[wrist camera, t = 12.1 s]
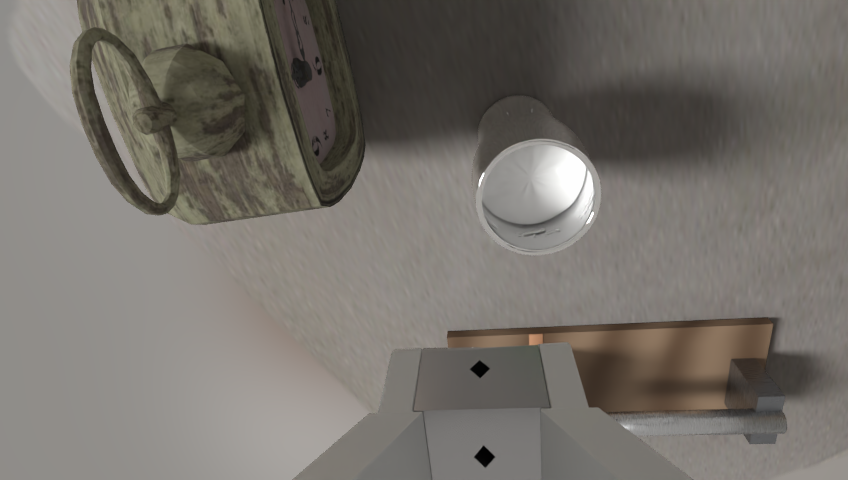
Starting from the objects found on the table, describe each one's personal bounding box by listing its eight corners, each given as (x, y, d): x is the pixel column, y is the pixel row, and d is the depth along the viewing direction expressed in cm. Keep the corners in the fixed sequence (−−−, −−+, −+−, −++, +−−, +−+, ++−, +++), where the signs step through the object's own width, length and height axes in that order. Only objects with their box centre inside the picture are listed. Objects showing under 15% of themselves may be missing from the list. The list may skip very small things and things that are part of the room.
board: (767, 317, 46) (773, 324, 45) (748, 423, 51) (753, 431, 50) (447, 331, 50) (447, 338, 49) (458, 429, 54) (457, 437, 53)
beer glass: (576, 151, 42) (627, 224, 28) (497, 191, 44) (508, 279, 30) (537, 71, 39) (571, 108, 26) (455, 117, 41) (447, 175, 28)
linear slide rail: (754, 357, 47) (792, 405, 41) (747, 402, 49) (781, 452, 43) (461, 368, 50) (459, 413, 44) (465, 409, 52) (464, 457, 46)
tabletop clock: (378, 145, 43) (272, 310, 20) (273, 161, 44) (62, 334, 21) (335, -57, 37) (118, -144, 14) (215, -31, 38) (-157, -73, 16)
